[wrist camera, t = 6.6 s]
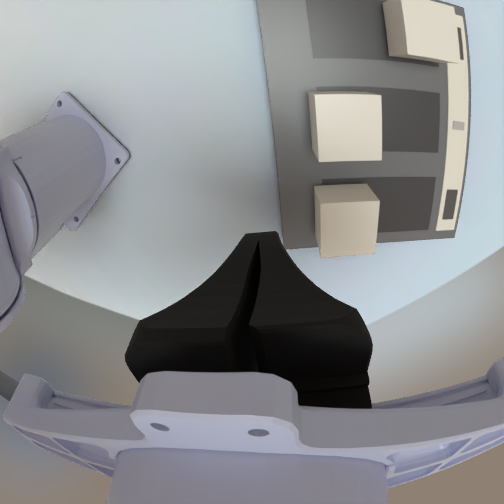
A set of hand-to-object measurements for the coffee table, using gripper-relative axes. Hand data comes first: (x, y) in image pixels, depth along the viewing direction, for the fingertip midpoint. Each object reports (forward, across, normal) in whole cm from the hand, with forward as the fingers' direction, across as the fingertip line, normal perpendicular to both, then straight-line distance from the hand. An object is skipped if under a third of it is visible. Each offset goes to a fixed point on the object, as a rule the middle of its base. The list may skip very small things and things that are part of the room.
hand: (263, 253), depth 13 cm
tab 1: (+8, -5, -4) cm, 10 cm away
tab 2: (+8, -5, +2) cm, 9 cm away
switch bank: (+9, -8, -4) cm, 13 cm away
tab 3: (+8, -10, -10) cm, 16 cm away
